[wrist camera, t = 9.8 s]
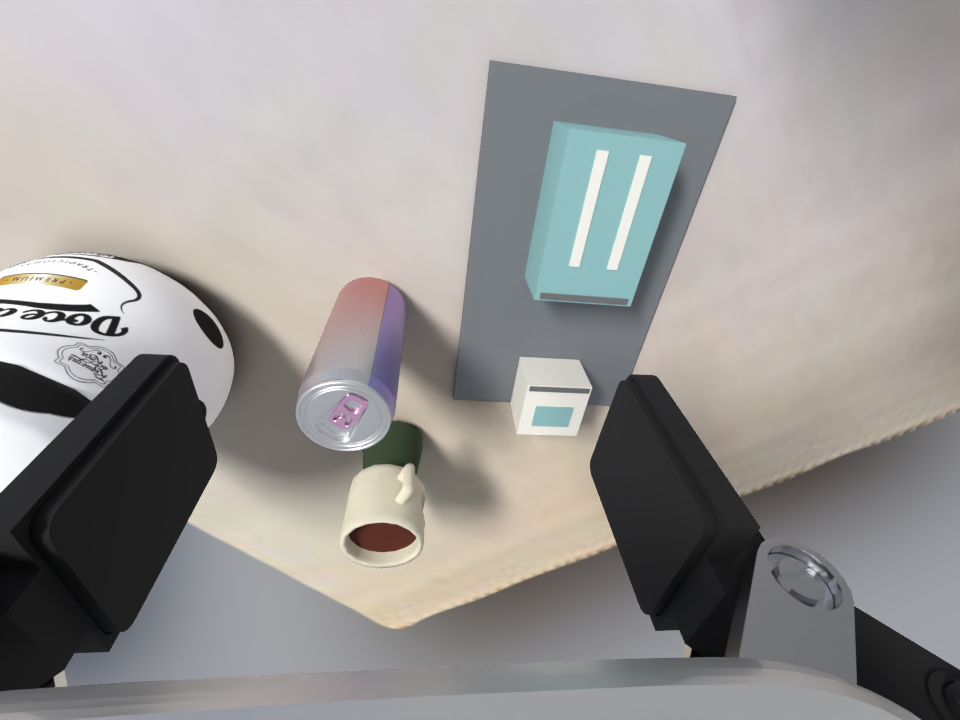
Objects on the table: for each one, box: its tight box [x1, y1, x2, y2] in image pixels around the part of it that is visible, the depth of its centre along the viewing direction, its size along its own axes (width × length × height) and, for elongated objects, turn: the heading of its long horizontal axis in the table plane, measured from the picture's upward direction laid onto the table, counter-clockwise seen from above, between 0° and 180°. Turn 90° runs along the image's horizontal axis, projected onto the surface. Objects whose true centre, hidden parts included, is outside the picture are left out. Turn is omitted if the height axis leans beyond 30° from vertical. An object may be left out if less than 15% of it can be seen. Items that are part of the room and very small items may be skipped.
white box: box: [510, 357, 592, 436], centre depth 43 cm, size 6×6×5 cm
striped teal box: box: [525, 121, 686, 307], centre depth 33 cm, size 12×8×5 cm, turn 173°
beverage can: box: [296, 277, 406, 451], centre depth 33 cm, size 6×6×15 cm
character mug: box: [339, 421, 426, 568], centre depth 42 cm, size 11×7×13 cm, turn 150°
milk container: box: [0, 252, 234, 493], centre depth 31 cm, size 17×17×18 cm
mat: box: [453, 60, 737, 405], centre depth 38 cm, size 29×18×1 cm, turn 173°
